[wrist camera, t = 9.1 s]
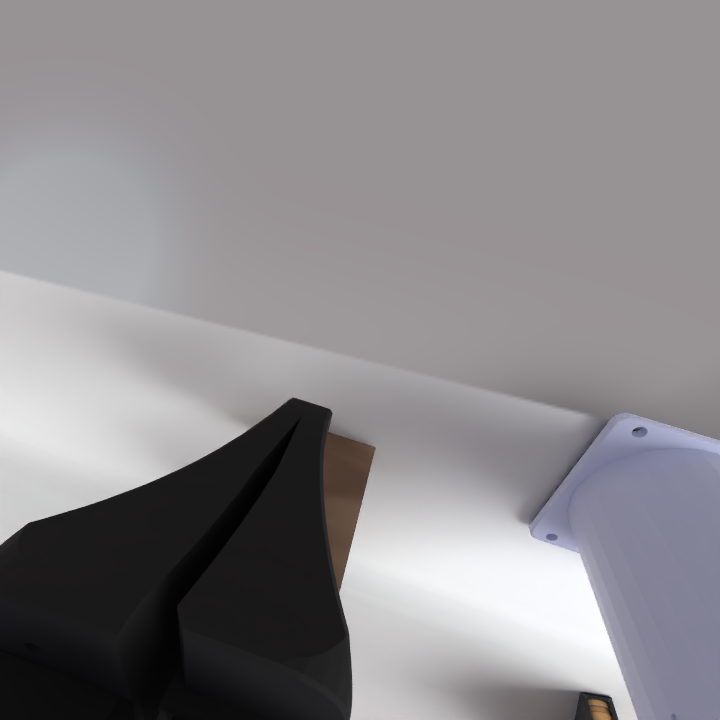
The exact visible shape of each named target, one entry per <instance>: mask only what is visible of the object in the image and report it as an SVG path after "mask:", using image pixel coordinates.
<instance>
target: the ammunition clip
mask: <svg viewBox="0 0 720 720" xmlns="http://www.w3.org/2000/svg"><path fill="white" fill-rule="evenodd" d="M575 720H618V717H617V714H616V711H615V707H614V704H613V701H612V698H610V697H604V696H598V695H592V694H586V693H580V697H579V702H578V706H577V711H576V716H575Z"/></svg>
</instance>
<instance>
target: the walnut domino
mask: <svg viewBox="0 0 720 720" xmlns="http://www.w3.org/2000/svg"><path fill="white" fill-rule="evenodd" d="M374 451H375V447H372V446H369V445H366V444H362V443H359V442H356V441H353V440H350V439H347V438H344V437H341V436H338V435H335V434H332V433H329V432H328V434H327V438H326V442H325V447H324V462H323V485H324V503H325V515H326V524H327V532H328V539H329V545H330V550H331V556H332V562H333V568H334V573H335V578H336V582H337V587H338V592H339V591H340V588H341V584H342V580H343V576H344V572H345V568H346V564H347V560H348V556H349V552H350V548H351V544H352V540H353V536H354V532H355V528H356V524H357V520H358V516H359V512H360V508H361V504H362V500H363V496H364V492H365V488H366V484H367V479H368V475H369V471H370V467H371V463H372V459H373V455H374Z"/></svg>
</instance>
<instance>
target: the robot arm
mask: <svg viewBox="0 0 720 720" xmlns="http://www.w3.org/2000/svg"><path fill="white" fill-rule="evenodd" d="M331 417H332V412H331V410H330V409H328V408H325V407H322V406H318V405H315V404H312V403H309V402H306V401H303V400H299V399H296V398H292V399H290V400H288V401H287V402H286V403H285V404H283V405H282V406H281V407H280V408H278V409H277V410H276V411H274V412H273V413H272V414H270V415H269V416H268V417H266V418H265V419H264V420H262V421H261V422H259V423H258V424H256V425H255V426H254V427H252V428H251V429H249V430H248V431H246V432H245V433H243V434H242V435H240V436H239V437H237V438H235V439H234V440H232V441H230V442H229V443H227V444H226V445H224V446H222V447H221V448H219V449H217V450H216V451H214V452H212V453H210V454H208V455H207V456H205V457H203V458H201V459H199V460H197V461H195V462H193V463H191V464H189V465H187V466H185V467H183V468H181V469H179V470H177V471H175V472H173V473H170V474H168V475H166V476H164V477H162V478H160V479H157V480H155V481H152V482H150V483H148V484H145V485H143V486H140V487H138V488H135V489H132V490H130V491H127V492H124V493H122V494H119V495H116V496H114V497H111V498H108V499H106V500H103V501H100V502H97V503H94V504H91V505H88V506H85V507H81V508H78V509H75V510H71V511H68V512H65V513H61V514H58V515H55V516H51V517H48V518H45V519H41V520H38V521H34V522H30V523H28V524H27V525H25V526H24V527H23V528H21V529H20V530H19V531H18V532H16V533H15V534H14V535H12V536H11V537H10V538H8V539H7V540H6V541H5V542H4V543H3V544H1V545H0V720H350V716H351V707H352V668H351V654H350V640H349V631H348V627H347V624H346V620H345V616H344V612H343V608H342V604H341V600H340V596H339V592H338V587H337V582H336V578H335V573H334V568H333V562H332V556H331V550H330V545H329V539H328V532H327V524H326V515H325V503H324V485H323V462H324V447H325V442H326V438H327V434H328V430H329V426H330V421H331ZM637 427H642V428H641V429H640V430H638V431H633V430H634V429H635V428H637ZM529 528H530V532H531V535H532V536H533V537H534V538H536V539H538V540H541V541H544V542H547V543H550V544H553V545H556V546H559V547H562V548H565V549H568V550H571V551H574V552H577V553H580V555H581V558H582V561H583V564H584V567H585V570H586V573H587V575H588V578H589V581H590V584H591V587H592V590H593V593H594V595H595V598H596V601H597V604H598V607H599V610H600V612H601V615H602V618H603V621H604V624H605V627H606V630H607V632H608V635H609V638H610V641H611V644H612V647H613V649H614V652H615V655H616V658H617V661H618V664H619V667H620V669H621V672H622V675H623V678H624V681H625V684H626V687H627V689H628V692H629V695H630V698H631V701H632V704H633V706H634V709H635V712H636V715H637V718H638V720H720V440H717V439H714V438H710V437H707V436H704V435H701V434H697V433H694V432H691V431H687V430H684V429H681V428H677V427H674V426H671V425H667V424H664V423H660V422H657V421H654V420H650V419H647V418H644V417H640V416H637V415H634V414H631V413H620V414H617V415H615V416H613V417H612V418H611V419H610V420H609V422H608V423H607V424H606V426H605V427H604V428H603V430H602V431H601V432H600V433H599V435H598V436H597V437H596V439H595V440H594V441H593V443H592V444H591V445H590V447H589V448H588V449H587V451H586V452H585V453H584V454H583V456H582V457H581V458H580V460H579V461H578V462H577V464H576V465H575V466H574V468H573V469H572V470H571V472H570V473H569V474H568V475H567V477H566V478H565V479H564V481H563V482H562V483H561V485H560V486H559V487H558V489H557V490H556V491H555V493H554V494H553V495H552V496H551V498H550V499H549V500H548V502H547V503H546V504H545V506H544V507H543V508H542V510H541V511H540V512H539V514H538V515H537V516H536V517H535V519H534V520H533V521H532V523H531V524H530V526H529Z"/></svg>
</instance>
